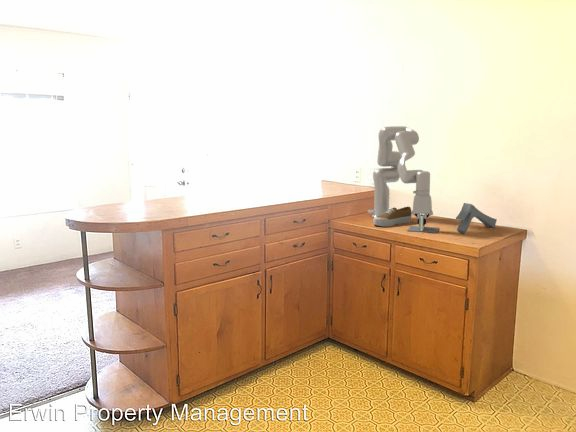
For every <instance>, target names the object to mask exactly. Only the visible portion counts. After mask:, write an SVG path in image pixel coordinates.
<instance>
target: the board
mask: <svg viewBox="0 0 576 432" xmlns="http://www.w3.org/2000/svg"><path fill="white" fill-rule="evenodd" d="M423 219H424V214H420V217H419V224H418V226H419V231H423V229H424V227H425V226H423Z"/></svg>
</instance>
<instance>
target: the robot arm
mask: <svg viewBox="0 0 576 432" xmlns="http://www.w3.org/2000/svg"><path fill="white" fill-rule="evenodd" d="M392 141H395V144H396V148H397V150H398V151H397V150H393V147H394V146H393V142H392ZM419 141H420V136H419V133H418V132H417V131H415V130H414V129H412V128H410V127H407V126H403V125H399V126H397V125H396V126H384V127H381V128H380V129H379V132H378V152H377V165H378V166H379V167H380V168H379V167H378V168H376V169H375V170H374V171H373V174H372V178H373V183H374V184H373V185H374V188H373V189H374V197H373V199H374V200H373V201H374V202H373V203H374V205H373V207H374V208H373V209H367V213H369V214H371V217H372V218H374V217H376V216H379V215H382V214H384V213H385V212H386V211H388V210H389V209H390V187H389V186H388V184H387V183H389V184H390V183H396V182H399V180H401V182H402V183H403V184H415V190H413V191H412V194H415V195H414V196H413V199H412V200H413V201H412V202H413V204H412V209H411V215H413V216H415V217H416V218H417V225H419V217H420V215H421V214H424V219H423V226H424V227H426V225H427V218H429V217H431V216H433V215H434V212H433V209H432V208H433V206H432V205H433V204H432V203H433V201H432V197H431V195H430V194H431V193H430V192H431V191H430V190H431V173H430V171H428V170H427V171H426V170H422V169H410V170H409V169H407V167H406V161H408V160H410V159H413V157H414V156H415V155H416V151H415V149H414V146H415V145H417V144H418V143H419Z"/></svg>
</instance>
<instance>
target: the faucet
mask: <svg viewBox="0 0 576 432" xmlns="http://www.w3.org/2000/svg"><path fill="white" fill-rule="evenodd" d="M474 218H475V219H477V220H478V221H479V222H481V223H482V224H483V225H484V226H485V227H486V226H487V228H495V227H496V223H497V218H493V217H492V216H489V215H487V214H485V213H484V212H482V211H481V210H479V209H478V208H477V207H476V206H475V205H474V204H472V203H468V202H467V203H466V202H463V204H462V207H461V210H460V212H459V213H458V214H457V216H456V217H455V220H458V221H460V222H459V224H458V227H457V228H456V232H458V233H460V234H464V235H467V233H468V230H469V227H470V223H472V222H471V221H472V220H473V219H474Z"/></svg>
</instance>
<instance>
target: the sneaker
mask: <svg viewBox="0 0 576 432" xmlns="http://www.w3.org/2000/svg"><path fill="white" fill-rule="evenodd" d="M411 212H412V208H411V206H404V207H401V208H398V209H397V207H391V208H389V210H388V211H386V212H385V213H384V214H382V215H379V216H376V217H373V220H372V221H373V225H374V226H378V227H385V228H386V227H393V226H396V225H401V224H407V223H411V221H412V214H411Z"/></svg>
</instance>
